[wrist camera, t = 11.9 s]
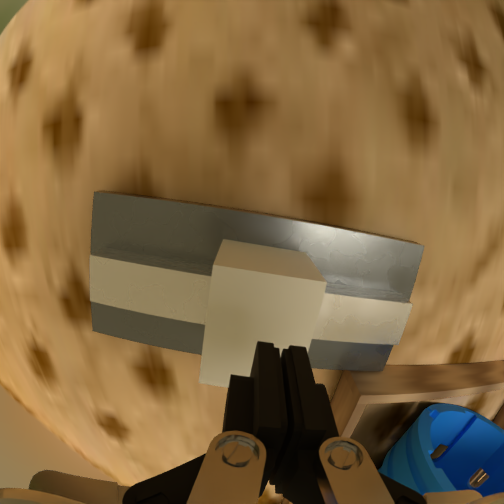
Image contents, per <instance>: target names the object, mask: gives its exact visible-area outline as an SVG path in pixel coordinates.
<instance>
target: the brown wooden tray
mask: <svg viewBox="0 0 504 504" xmlns="http://www.w3.org/2000/svg"><path fill="white" fill-rule="evenodd" d="M503 388H504V360H502V361H491V362H479V363H465V364H445V365H385V367H384V369H383V371H355V370H343V373H342V376H341V378H340V381H339V383H338V386H337V388H336V391H335V393H334V396H333V398H332V401H331V403H330V405H331V408H332V412H333V415H334V419H335V422H336V426H337V430H338V433H339V437H347V438H350V436H351V435H352V433H353V431H354V429H355V427H356V425H357V423H358V421H359V419H360V417H361V415H362V413H363V411H364V409H365V407H366V405H367V404H378V403H399V402H413V401H424V400H434V399H443V398H451V397H458V396H465V395H471V394H477V393H483V392H489V391H494V390H499V389H503ZM493 423H495V424H496V425H498V426H499V427H500V428H502V429H503V430H504V404H503V406H502V408H501V409H500V411H499V412H498V414H497V416H496V417H495V419H494V420H493ZM482 471H483V469H482V468H481V467H480V469H479V470H478V471H477V472H476V473H475V474H473V475H472V477H471V478H470V481H469V482H470V485H471V483H472V482H473V481H474V480H475V479H476V478H477V477H478V476H479V475H480V474H481V472H482ZM289 502H290V501H288V500H287V499H286V498H284V500H283V502H282V504H289Z"/></svg>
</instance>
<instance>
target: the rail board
mask: <svg viewBox="0 0 504 504" xmlns="http://www.w3.org/2000/svg"><path fill="white" fill-rule="evenodd" d="M223 239H226V240H233V241H239V242H245V243H251V244H257V245H263V246H269V247H275V248H281V249H288V250H294V251H300V252H306V254H307V255H308V257H309V258H310V259H311V261H312V262H313V263H314V265H315V266H316V268H317V269H318V270H319V272H320V273H321V275H322V276H323V277H324V279H325V280H326V282H327V285H326V289H325V293H324V296H323V300H322V304H321V308H320V312H319V315H318V319H317V322H316V326H315V330H314V333H313V337H312V340H311V343H310V347H309V350H308V357H309V361H310V364H311V368H317V369H333V370H355V371H383V369H384V367H385V365H386V362H387V360H388V357H389V355H390V352H391V350H392V347H393V345H398V344H399V342H400V339H401V336H402V334H403V331H404V328H405V325H406V323H407V320H408V317H409V314H410V311H411V308H412V305H413V304H412V303H411V302H410V301H409V299H410V296H411V293H412V290H413V286H414V283H415V280H416V276H417V273H418V269H419V265H420V262H421V258H422V254H423V250H424V246H423V245H421V244H419V243H417V242H413V241H408V240H403V239H399V238H394V237H389V236H384V235H380V234H375V233H370V232H365V231H360V230H355V229H350V228H344V227H339V226H334V225H329V224H323V223H318V222H312V221H307V220H301V219H296V218H290V217H284V216H278V215H273V214H267V213H261V212H255V211H248V210H242V209H236V208H229V207H223V206H216V205H210V204H203V203H196V202H189V201H182V200H174V199H167V198H159V197H152V196H144V195H136V194H128V193H119V192H110V191H96V192H94V199H93V212H92V229H91V254H90V261H89V277H90V301H91V311H92V327H93V331H95V332H99V333H103V334H106V335H110V336H114V337H118V338H122V339H127V340H131V341H135V342H140V343H144V344H149V345H153V346H158V347H163V348H168V349H173V350H178V351H183V352H189V353H194V354H200V355H202V348H203V340H204V331H205V323H206V315H207V307H208V299H209V292H210V284H211V277H212V269H213V264H214V261H215V259H216V256H217V253H218V251H219V248H220V246H221V243H222V241H223Z"/></svg>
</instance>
